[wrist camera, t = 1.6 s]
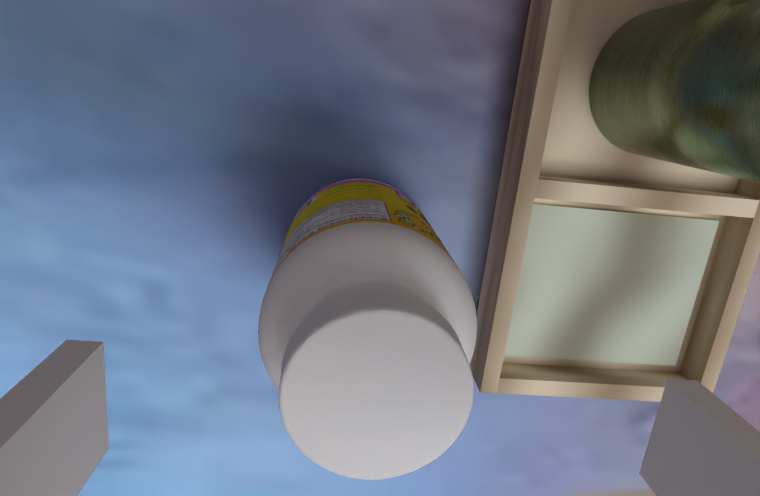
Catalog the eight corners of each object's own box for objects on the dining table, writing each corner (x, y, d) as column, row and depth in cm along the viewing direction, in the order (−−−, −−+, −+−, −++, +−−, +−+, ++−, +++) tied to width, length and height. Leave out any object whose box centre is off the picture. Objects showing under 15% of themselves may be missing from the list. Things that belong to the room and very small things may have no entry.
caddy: (467, 365, 27) (480, 392, 24) (593, -360, 18) (630, -425, 16) (677, 377, 28) (709, 404, 26) (885, -300, 20) (960, -353, 17)
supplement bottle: (438, 294, 26) (529, 485, 13) (306, 322, 25) (275, 540, 13) (415, 160, 24) (497, 241, 11) (271, 190, 23) (197, 304, 11)
